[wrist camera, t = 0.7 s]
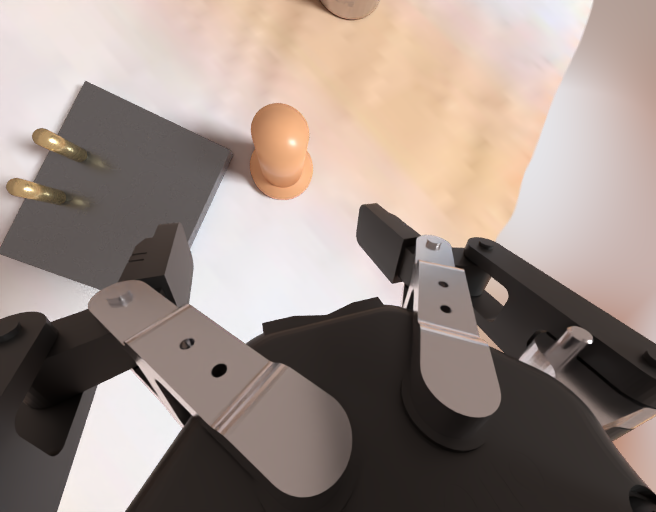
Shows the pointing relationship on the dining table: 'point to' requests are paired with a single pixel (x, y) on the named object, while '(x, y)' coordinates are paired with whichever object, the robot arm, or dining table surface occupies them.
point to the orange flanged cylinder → (280, 152)
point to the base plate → (110, 188)
